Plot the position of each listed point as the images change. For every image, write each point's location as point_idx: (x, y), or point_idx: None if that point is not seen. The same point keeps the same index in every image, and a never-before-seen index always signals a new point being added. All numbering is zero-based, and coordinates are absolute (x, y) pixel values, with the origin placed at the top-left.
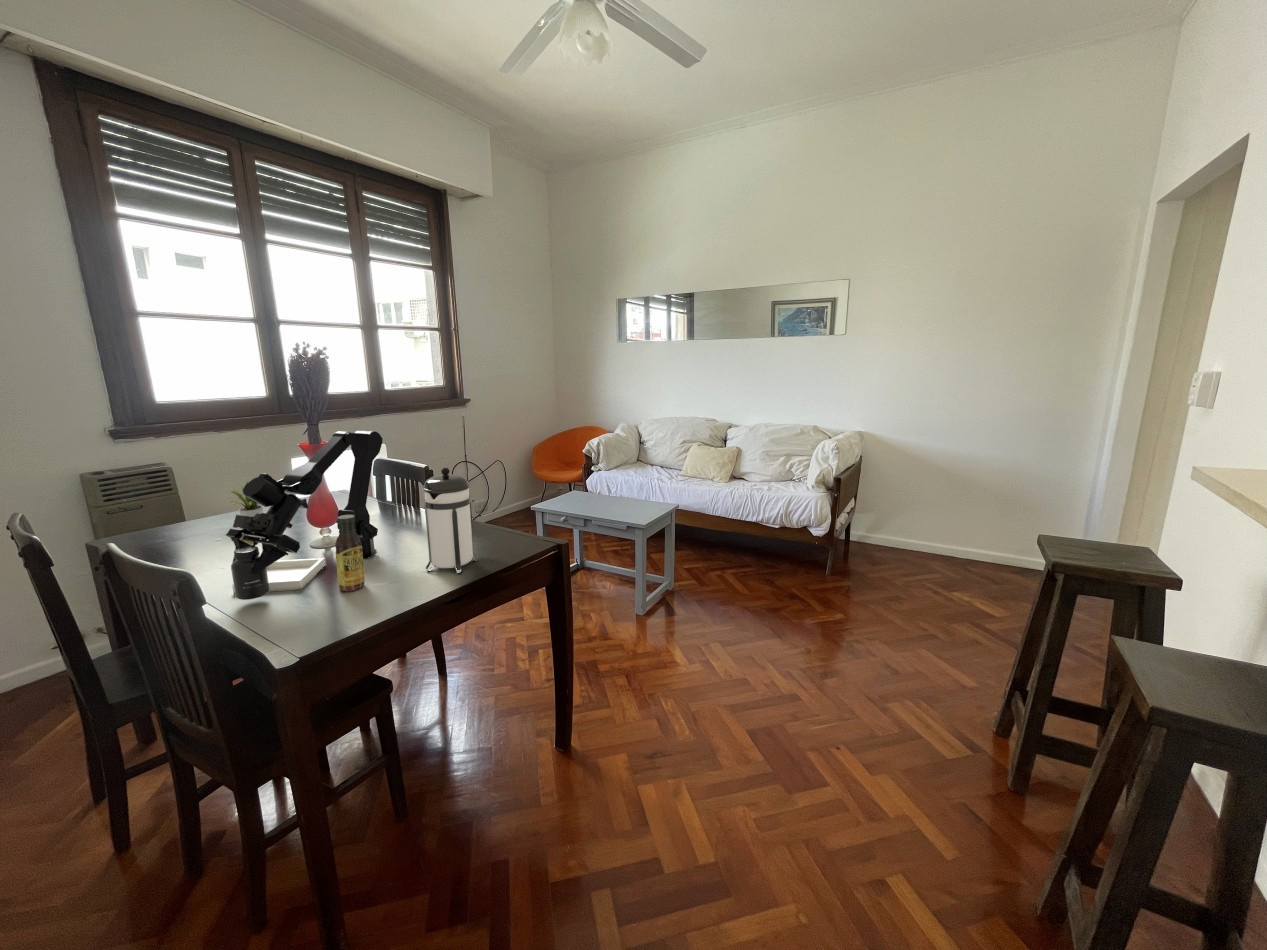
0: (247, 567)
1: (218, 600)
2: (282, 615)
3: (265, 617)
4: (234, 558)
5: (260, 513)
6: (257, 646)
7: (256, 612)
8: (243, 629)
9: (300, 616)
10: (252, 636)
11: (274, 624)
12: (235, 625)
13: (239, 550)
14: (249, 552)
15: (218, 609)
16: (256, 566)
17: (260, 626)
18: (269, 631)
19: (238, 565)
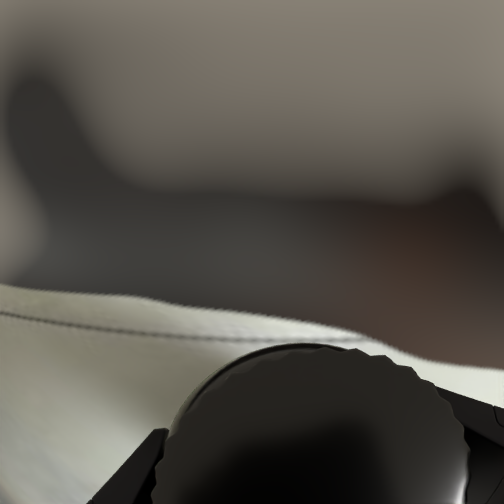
0: (178, 414)
1: (428, 365)
2: (75, 426)
3: (110, 395)
4: (459, 403)
5: None
6: (4, 285)
7: (179, 406)
8: (97, 315)
9: (27, 438)
10: (43, 305)
11: (46, 374)
12: (144, 317)
13: (353, 421)
14: (163, 481)
15: (342, 340)
16: (132, 459)
17: (69, 349)
18: (27, 341)
19: (237, 367)
